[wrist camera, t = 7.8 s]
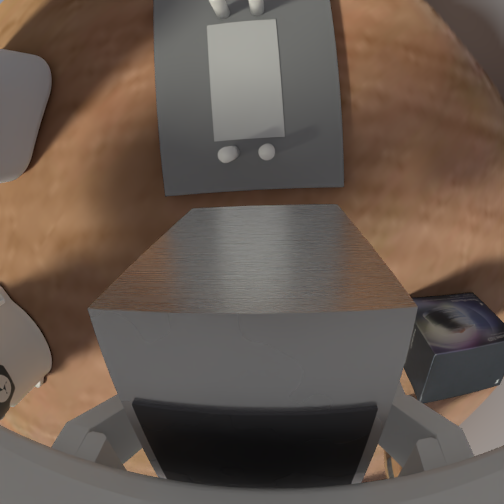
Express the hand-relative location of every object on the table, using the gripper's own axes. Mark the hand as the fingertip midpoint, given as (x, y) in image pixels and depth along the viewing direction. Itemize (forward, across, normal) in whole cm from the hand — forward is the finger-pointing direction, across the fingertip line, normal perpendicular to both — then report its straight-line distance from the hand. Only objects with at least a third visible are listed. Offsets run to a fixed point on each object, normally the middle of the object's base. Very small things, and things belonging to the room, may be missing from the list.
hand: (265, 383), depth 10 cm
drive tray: (+21, -2, +13) cm, 25 cm away
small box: (+22, +18, -12) cm, 31 cm away
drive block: (+3, 0, 0) cm, 3 cm away
